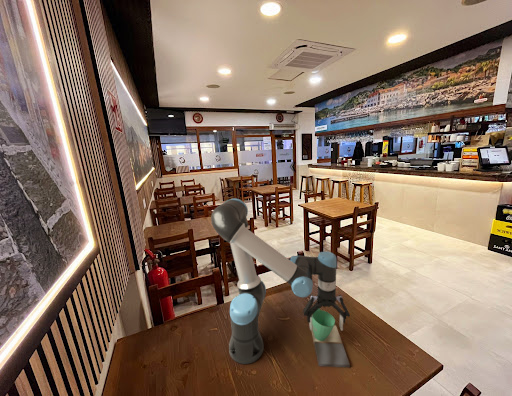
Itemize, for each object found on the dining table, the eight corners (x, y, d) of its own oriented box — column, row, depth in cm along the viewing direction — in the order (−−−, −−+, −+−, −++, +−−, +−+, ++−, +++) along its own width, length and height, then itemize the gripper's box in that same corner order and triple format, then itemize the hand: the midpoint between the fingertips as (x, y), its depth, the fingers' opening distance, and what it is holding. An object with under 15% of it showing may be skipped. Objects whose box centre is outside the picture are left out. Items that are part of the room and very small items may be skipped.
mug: (334, 346, 96) (339, 326, 94) (313, 346, 95) (317, 326, 92) (321, 320, 110) (324, 302, 108) (302, 319, 109) (305, 302, 107)
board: (318, 366, 88) (318, 363, 88) (310, 327, 108) (310, 324, 107) (349, 367, 87) (349, 364, 87) (336, 327, 107) (336, 324, 106)
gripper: (298, 291, 94) (299, 333, 99) (359, 292, 92) (356, 335, 97) (297, 281, 102) (297, 321, 106) (353, 281, 100) (351, 322, 104)
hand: (325, 328), depth 101 cm, fingers open, 13 cm apart
